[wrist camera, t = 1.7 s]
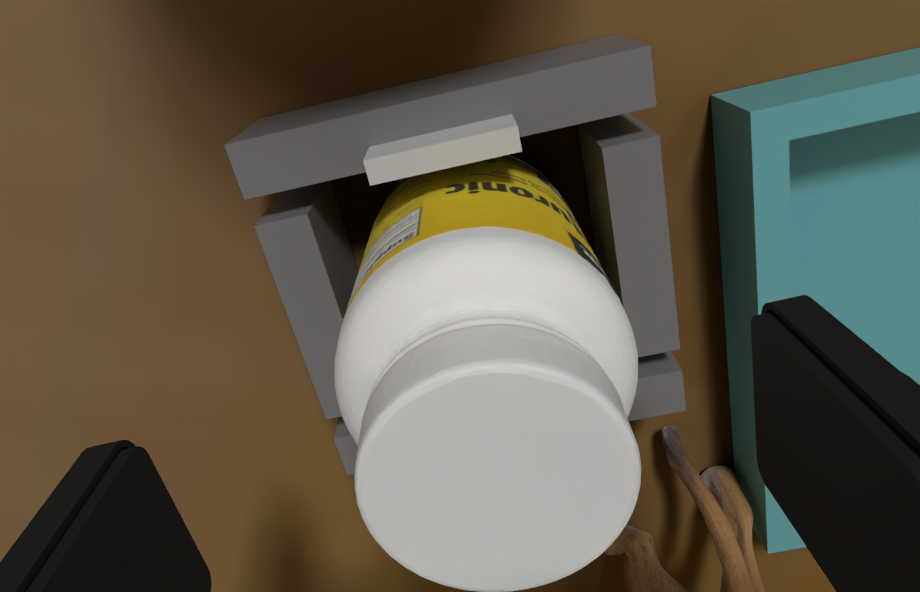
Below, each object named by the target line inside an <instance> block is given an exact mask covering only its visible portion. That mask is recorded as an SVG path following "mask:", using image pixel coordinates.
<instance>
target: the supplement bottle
mask: <svg viewBox="0 0 920 592" xmlns="http://www.w3.org/2000/svg"><path fill="white" fill-rule="evenodd" d="M334 379H335V389H336V397H337V401H338V405H339V409H340V412H341V415H342V417H343V420H344V422H345V424H346V426H347V429H348V431H349V433H350V434H351V436H352V438H353V439H354V441H355V443H356V444H357V446H358V451H357V457H356V463H355V475H354V482H355V492H356V499H357V504H358V507H359V510H360V513H361V516H362V518H363V520H364V522H365V524H366V526H367V528H368V530H369V532H370V533H371V535H372V536H373V538H374V539H375V540H376V541H377V543H378V544H379V545H380V546H381V547H382V548H383V549H384V550H385V551H386V552H387V553H388V554H389V555H390V556H391V557H392V558H393V559H395V560H396V561H397V562H399V563H400V564H401V565H403V566H404V567H405V568H407V569H409V570H411V571H412V572H414V573H416V574H417V575H419V576H421V577H423V578H426V579H428V580H431V581H433V582H436V583H439V584H442V585H445V586H449V587H453V588H457V589H462V590H468V591H479V592H510V591H518V590H524V589H529V588H534V587H538V586H542V585H545V584H548V583H551V582H554V581H557V580H559V579H562V578H564V577H566V576H569V575H571V574H573V573H574V572H576V571H578V570H580V569H581V568H583V567H585V566H586V565H588V564H589V563H590V562H592V561H593V560H594V559H596V558H597V557H599V556H600V555H601V554H602V553H603V552H604V551H605V550H606V549H607V548H608V547H609V546H610V545H611V544H612V543H613V542H614V541H615V540H616V538H617V537H618V536H619V535H620V533H621V532H622V530H623V529H624V527H625V526H626V524H627V523H628V521H629V519H630V517H631V515H632V513H633V510H634V508H635V505H636V502H637V498H638V494H639V490H640V485H641V462H640V454H639V449H638V444H637V442H636V439H635V437H634V434H633V431H632V429H631V426H630V424H629V421H628V419H627V418H628V416H629V413H630V410H631V408H632V404H633V401H634V397H635V394H636V388H637V383H638V353H637V347H636V341H635V337H634V333H633V330H632V327H631V324H630V321H629V319H628V317H627V315H626V312H625V310H624V308H623V306H622V302H621V300H620V298H619V296H618V294H617V292H616V291H615V289H614V287H613V286H612V284H611V282H610V280H609V279H608V277H607V276H606V274H605V272H604V270H603V269H602V267H601V265H600V263H599V261H598V259H597V257H596V256H595V254H594V252H593V250H592V249H591V247H590V245H589V243H588V241H587V239H586V238H585V236H584V234H583V232H582V230H581V229H580V227H579V225H578V223H577V221H576V220H575V218H574V216H573V214H572V212H571V210H570V208H569V206H568V204H567V203H566V201H565V200H564V199H563V197H562V196H561V194H560V193H559V192H558V190H557V189H556V188H555V187H554V185H553V184H552V183H551V182H550V181H549V180H548V179H547V178H546V177H545V176H544V175H543V174H542V173H541V172H539V171H538V170H536V169H535V168H534V167H532V166H531V165H529V164H527V163H526V162H524V161H522V160H520V159H518V158H516V157H513V156H510V155H505V156H500V157H496V158H491V159H487V160H482V161H478V162H474V163H469V164H465V165H460V166H456V167H451V168H447V169H442V170H438V171H434V172H429V173H425V174H420V175H416V176H411V177H407V178H403V179H401V180H400V181H399V182H398V183H397V184H396V185H395V187H394V188H393V189H392V190H391V191H390V193H389V194H388V196H387V197H386V199H385V201H384V203H383V204H382V206H381V208H380V210H379V212H378V214H377V217H376V219H375V222H374V225H373V228H372V231H371V234H370V237H369V240H368V243H367V246H366V249H365V252H364V255H363V259H362V262H361V266H360V268H359V272H358V275H357V278H356V281H355V284H354V288H353V291H352V294H351V298H350V300H349V303H348V307H347V310H346V313H345V315H344V319H343V322H342V326H341V329H340V333H339V338H338V343H337V349H336V355H335V366H334Z"/></svg>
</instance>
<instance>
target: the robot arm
mask: <svg viewBox="0 0 920 592" xmlns="http://www.w3.org/2000/svg"><path fill="white" fill-rule="evenodd" d="M751 342H752V364H753V386H754V409H755V431H756V453H757V464H758V468H759V472H760V475H761V477H762V479H763V482H764V483H765V485H766V487H767V488H768V490H769V491H770V493H771V494H772V496H773V497H774V499H775V500H776V502H777V503H778V505H779V506H780V508H781V509H782V511H783V512H784V514H785V515H786V517H787V518H788V520H789V521H790V523H791V524H792V526H793V527H794V529H795V530H796V532H797V533H798V535H799V536H800V538H801V539H802V541H803V542H804V544H805V545H806V547H807V548H808V550H809V551H810V553H811V554H812V556H813V557H814V559H815V560H816V562H817V563H818V565H819V566H820V568H821V569H822V571H823V572H824V574H825V575H826V577H827V578H828V580H829V581H830V583H831V584H832V586H833V587H834V589H835V590H836V592H920V385H919V384H918V383H917V382H915V381H914V380H913V379H912V378H911V377H909V376H908V375H906V374H904V373H903V372H901V371H900V370H898V369H897V368H896V367H895V366H893V365H892V364H891V363H890V362H889V361H887V360H886V359H885V358H884V357H883V356H881V355H880V354H879V353H878V352H876V351H875V350H874V349H873V348H872V347H870V346H869V345H868V344H867V343H866V342H864V341H863V340H862V339H861V338H859V337H858V336H857V335H856V334H855V333H853V332H852V331H851V330H850V329H849V328H847V327H846V326H845V325H844V324H843V323H841V322H840V321H839V320H838V319H836V318H835V317H834V316H833V315H832V314H830V313H829V312H828V311H827V310H826V309H824V308H823V307H822V306H821V305H819V304H818V303H817V302H816V301H815V300H813V299H812V298H811V297H809V296H807V295H801V296H796V297H792V298H787V299H782V300H778V301H773V302H768V303H765V304H764V305H763V308H762V311H761V314H759V315H754V316H753V317H752V320H751ZM210 591H211V576H210V572H209V569H208V567H207V565H206V563H205V561H204V559H203V558H202V556H201V554H200V552H199V550H198V548H197V546H196V544H195V542H194V540H193V538H192V536H191V535H190V533H189V531H188V529H187V527H186V525H185V523H184V521H183V519H182V517H181V515H180V514H179V512H178V510H177V508H176V506H175V504H174V502H173V500H172V498H171V496H170V494H169V492H168V491H167V489H166V487H165V485H164V483H163V481H162V479H161V477H160V475H159V473H158V471H157V470H156V468H155V466H154V464H153V462H152V460H151V458H150V456H149V454H148V453H147V451H146V450H145V449H144V448H142V447H139V446H137V447H136V446H135V445H134V444H133V443H132V442H130V441H128V440H121V441H116V442H112V443H107V444H102V445H97V446H93V447H89V448H86V449H85V450H84V451H83V452H82V453H81V455H80V456H79V457H78V459H77V460H76V461H75V463H74V464H73V465H72V467H71V468H70V469H69V471H68V472H67V473H66V475H65V476H64V477H63V479H62V480H61V481H60V483H59V484H58V485H57V487H56V488H55V490H54V491H53V492H52V494H51V495H50V496H49V498H48V499H47V500H46V502H45V503H44V504H43V506H42V507H41V508H40V510H39V511H38V512H37V514H36V515H35V516H34V518H33V519H32V520H31V522H30V523H29V524H28V526H27V527H26V528H25V530H24V531H23V532H22V534H21V535H20V536H19V538H18V539H17V540H16V542H15V543H14V544H13V546H12V547H11V548H10V550H9V551H8V552H7V554H6V555H5V557H4V558H3V559H2V561H1V562H0V592H210Z"/></svg>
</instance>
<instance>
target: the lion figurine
mask: <svg viewBox="0 0 920 592" xmlns="http://www.w3.org/2000/svg"><path fill="white" fill-rule="evenodd" d="M662 444H663V447H664V451H665V454H666V457H667V460H668V463H669V465H670V466H671V467H672V468H673V469H674V471H675V472H676V473H677V474H678V475H679V477H680V478H681V480H682V481H683V483H684V484H685V486H686V487H687V488H688V490H689V492H690V493H691V495H692V497H693V498H694V500H695V502H696V504H697V505H698V507H699V509H700V511H701V513H702V515H703V518H704V520H705V523H706V525H707V527H708V530H709V532H710V534H711V536H712V539H713V541H714V544H715V546H716V549H717V552H718V555H719V558H720V561H721V564H722V568H723V574H722V581H721V590H720V592H765V589H764V586H763V583H762V580H761V577H760V574H759V570H758V566H757V563H756V559H755V555H754V550H753V544H752V526H753V514H752V509H751V507H750V505H749V503H748V501H747V500H746V498H745V496H744V494H743V492H742V490H741V488H740V486H739V483H738V481H737V478H736V476H735V474H734V472H733V470H732V469H730V468H729V467H726V466H713V467H709V468H708V469H706V470H705V471H704V472H703V473H702V474H701V476H700V475H699V474H698V472H697V471H696V470H695V468H694V467H693V465H692V463H691V461H690V459H689V457H688V455H687V453H686V449H685V443H684V440H683V439H682V438H681V437H680V434H679V431H678V430H677V429H676V428H675V427H673V426H671V425H668V426H665V427H663V428H662ZM718 503H720V506H721V507H720V506H719V504H718ZM624 552H625V553H626V555H627V557H628V560H629V563H630V567H631V575H632V585H633V592H689V591H688V590H686V589H685V588H684V587H683V586H682V585H681V584H680V583H678V582H677V581H676V580H675V579H674V578H673V577H671V576H670V575H669V574H668V573H667V572H666V571H665V570H664V569H663V567H662V566H661V564H660V562H659V561H658V559H657V556H656V553H655V547H654V542H653V538H652V536H651V534H649V533H647V532H645V531H642V530H639V529H636V528H634V527H632V526H629V525H627V524H626V526H625V527H624V529H623V530H622V532H621V533H620V535H619V536H618V537H617V538H616V540H615V541H614V542H613V543H612V544H611V545H610V546H609V547H608V548H607V549H606V550H605V551H604V552H603V553H605V554H607V555H621V554H623V553H624Z"/></svg>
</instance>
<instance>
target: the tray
mask: <svg viewBox="0 0 920 592" xmlns="http://www.w3.org/2000/svg"><path fill="white" fill-rule="evenodd" d="M711 109H712V125H713V141H714V157H715V172H716V188H717V204H718V220H719V236H720V251H721V267H722V283H723V299H724V315H725V331H726V346H727V362H728V378H729V394H730V410H731V425H732V441H733V457H734V473H735V476H736V478H737V481H738V483H739V486H740V488H741V490H742V492H743V494H744V496H745V498H746V500H747V501H748V503H749V505H750V507H751V509H752V514H753V528H754V530H755V532H756V534H757V535H758V537H759V539H760V541H761V543H762V544H763V546H764V548H765V550H766V551H767V553H768V554H769V553H775V552H781V551H786V550H792V549H798V548H804V547H806V545H805V544H804V542H803V541H802V539H801V538H800V536H799V535H798V533H797V532H796V530H795V529H794V527H793V526H792V524H791V523H790V521H789V520H788V518H787V517H786V515H785V514H784V512H783V511H782V509H781V508H780V506H779V505H778V503H777V502H776V500H775V499H774V497H773V496H772V494H771V493H770V491H769V490H768V488H767V487H766V485H765V483H764V482H763V479H762V477H761V475H760V472H759V468H758V464H757V453H756V431H755V409H754V386H753V364H752V342H751V320H752V317H753V316H754V315H759V314H761V311H762V308H763V305H764V304H765V303H768V302H773V301H778V300H782V299H787V298H792V297H796V296H801V295H807V296H809V297H811V298H812V299H813V300H815V301H816V302H817V303H818V304H819V305H821V306H822V307H823V308H824V309H826V310H827V311H828V312H829V313H830V314H832V315H833V316H834V317H835V318H836V319H838V320H839V321H840V322H841V323H843V324H844V325H845V326H846V327H847V328H849V329H850V330H851V331H852V332H853V333H855V334H856V335H857V336H858V337H859V338H861V339H862V340H863V341H864V342H866V343H867V344H868V345H869V346H870V347H872V348H873V349H874V350H875V351H876V352H878V353H879V354H880V355H881V356H883V357H884V358H885V359H886V360H887V361H889V362H890V363H891V364H892V365H893V366H895V367H896V368H897V369H898V370H900V371H901V372H903V373H904V374H906V375H908V376H909V377H911V378H912V379H913V380H914V381H915V382H917V383H918V384H919V385H920V47H919V48H915V49H910V50H906V51H902V52H897V53H893V54H888V55H884V56H880V57H875V58H871V59H866V60H862V61H857V62H853V63H849V64H844V65H840V66H835V67H831V68H827V69H822V70H818V71H813V72H809V73H805V74H800V75H796V76H791V77H787V78H783V79H778V80H774V81H769V82H765V83H761V84H756V85H752V86H747V87H743V88H738V89H734V90H730V91H725V92H721V93H716V94H712V95H711Z"/></svg>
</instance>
